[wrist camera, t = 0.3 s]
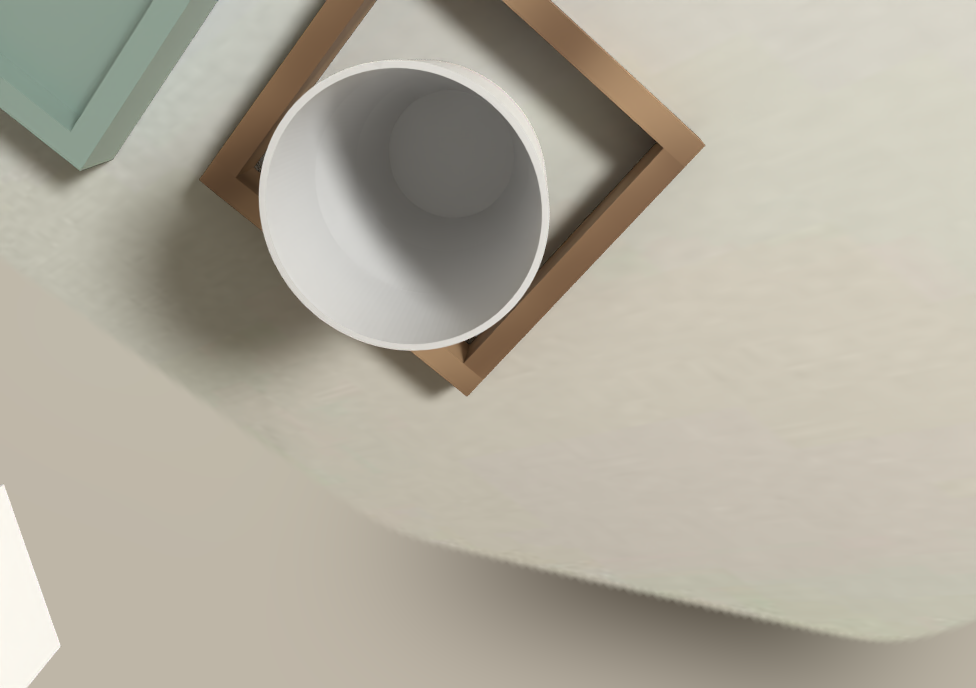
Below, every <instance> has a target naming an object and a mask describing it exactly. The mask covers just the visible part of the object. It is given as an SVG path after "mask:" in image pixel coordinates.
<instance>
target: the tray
mask: <svg viewBox="0 0 976 688" xmlns="http://www.w3.org/2000/svg"><path fill="white" fill-rule="evenodd" d="M217 1H218V0H0V108H1V109H2V110H3V111H5V112H6V113H7V114H8V115H10V116H11V117H12V118H14V119H15V120H16V121H17V122H19V123H20V124H21V125H22V126H24V127H25V128H26V129H28V130H29V131H30V132H31V133H33V134H34V135H35V136H36V137H38V138H39V139H40V140H41V141H43V142H44V143H45V144H47V145H48V146H49V147H50V148H52V149H53V150H54V151H55V152H57V153H58V154H59V155H60V156H62V157H63V158H64V159H66V160H67V161H68V162H69V163H71V164H72V165H73V166H74V167H76V168H77V169H78V170H79V171H81V170H84V169H87V168H90V167H93V166H95V165H98V164H101V163H104V162H107V161H110V160H112V159H114V157H115V156H116V154H117V153H118V151H119V149H120V148H121V146H122V145H123V143H124V142H125V140H126V139H127V137H128V136H129V134H130V133H131V131H132V130H133V128H134V127H135V125H136V124H137V122H138V121H139V119H140V118H141V116H142V115H143V113H144V112H145V110H146V109H147V107H148V106H149V104H150V103H151V101H152V100H153V98H154V96H155V95H156V93H157V92H158V90H159V89H160V87H161V86H162V84H163V83H164V81H165V80H166V78H167V77H168V75H169V74H170V72H171V71H172V69H173V68H174V66H175V65H176V63H177V62H178V60H179V59H180V57H181V56H182V54H183V53H184V51H185V50H186V48H187V47H188V45H189V43H190V42H191V40H192V39H193V37H194V36H195V34H196V33H197V31H198V30H199V28H200V27H201V25H202V24H203V22H204V21H205V19H206V18H207V16H208V15H209V13H210V12H211V10H212V9H213V7H214V6H215V4H216V3H217Z"/></svg>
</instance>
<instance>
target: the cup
mask: <svg viewBox="0 0 976 688" xmlns="http://www.w3.org/2000/svg"><path fill="white" fill-rule="evenodd" d="M259 211H260V219H261V225H262V229H263V233H264V237H265V241H266V244H267V247H268V249H269V252H270V254H271V257H272V259H273V261H274V263H275V265H276V267H277V269H278V271H279V273H280V274H281V276H282V278H283V279H284V281H285V282H286V284H287V285H288V286H289V288H290V289H291V290H292V292H293V293H294V294H295V295H296V296H297V298H298V299H299V300H300V301H301V302H302V303H303V304H304V305H305V306H306V307H307V308H308V309H309V310H310V311H311V312H312V313H314V314H315V315H316V316H317V317H318V318H320V319H321V320H322V321H324V322H325V323H327V324H328V325H330V326H331V327H333V328H334V329H336V330H338V331H340V332H341V333H343V334H345V335H347V336H349V337H352V338H354V339H356V340H359V341H362V342H364V343H367V344H371V345H374V346H378V347H383V348H388V349H395V350H410V351H415V350H430V349H436V348H442V347H446V346H450V345H453V344H457V343H460V342H462V341H465V340H467V339H470V338H472V337H474V336H476V335H478V334H480V333H481V332H483V331H485V330H486V329H488V328H490V327H491V326H492V325H494V324H495V323H496V322H498V321H499V320H500V319H501V318H503V317H504V316H505V315H506V314H507V313H508V312H509V311H510V310H511V309H512V308H513V307H514V306H515V305H516V304H517V302H518V301H519V300H520V299H521V298H522V296H523V295H524V293H525V292H526V291H527V289H528V287H529V286H530V284H531V282H532V281H533V279H534V277H535V275H536V273H537V271H538V268H539V266H540V263H541V261H542V258H543V254H544V251H545V247H546V243H547V237H548V230H549V214H550V210H549V196H548V187H547V178H546V169H545V163H544V158H543V154H542V150H541V147H540V144H539V141H538V138H537V136H536V134H535V132H534V129H533V128H532V126H531V124H530V122H529V120H528V119H527V117H526V116H525V114H524V113H523V111H522V110H521V109H520V107H519V106H518V105H517V104H516V102H515V101H514V100H513V99H512V98H511V97H510V96H509V95H508V94H507V93H506V92H505V91H504V90H502V89H501V88H500V87H499V86H498V85H496V84H495V83H494V82H492V81H491V80H489V79H488V78H486V77H484V76H483V75H481V74H479V73H477V72H475V71H473V70H471V69H468V68H466V67H463V66H460V65H457V64H453V63H449V62H445V61H438V60H426V59H417V60H381V61H374V62H368V63H364V64H359V65H356V66H353V67H350V68H347V69H344V70H342V71H339V72H337V73H335V74H333V75H331V76H329V77H327V78H326V79H324V80H322V81H321V82H319V83H318V84H316V85H315V86H314V87H312V88H311V89H310V90H308V91H307V92H306V93H305V94H304V95H303V96H302V97H301V98H300V99H298V101H297V102H296V103H295V104H294V105H293V106H292V107H291V108H290V109H289V111H288V112H287V113H286V115H285V116H284V117H283V119H282V120H281V122H280V123H279V125H278V127H277V129H276V130H275V132H274V134H273V136H272V138H271V141H270V143H269V145H268V148H267V151H266V154H265V157H264V161H263V165H262V170H261V175H260V183H259Z"/></svg>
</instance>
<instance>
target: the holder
mask: <svg viewBox="0 0 976 688" xmlns="http://www.w3.org/2000/svg"><path fill="white" fill-rule="evenodd" d="M376 1H377V0H326V2H325V3H324V5H323V6H322V7H321V9H320V10H319V12H318V13H317V14H316V16H315V17H314V19H313V20H312V22H311V23H310V24H309V26H308V27H307V29H306V30H305V31H304V33H303V34H302V36H301V37H300V38H299V40H298V41H297V43H296V44H295V45H294V47H293V48H292V50H291V51H290V52H289V54H288V55H287V57H286V58H285V60H284V61H283V62H282V64H281V65H280V67H279V68H278V69H277V71H276V72H275V74H274V75H273V76H272V78H271V79H270V81H269V82H268V83H267V85H266V86H265V88H264V89H263V90H262V92H261V93H260V95H259V96H258V98H257V99H256V100H255V102H254V103H253V105H252V106H251V107H250V109H249V110H248V112H247V113H246V114H245V116H244V117H243V119H242V120H241V121H240V123H239V124H238V126H237V127H236V128H235V130H234V131H233V133H232V134H231V136H230V137H229V138H228V140H227V141H226V143H225V144H224V145H223V147H222V148H221V150H220V151H219V152H218V154H217V155H216V157H215V158H214V159H213V161H212V162H211V164H210V165H209V166H208V168H207V169H206V171H205V172H204V174H203V175H202V176H201V178H200V179H199V180H200V181H201V182H202V183H203V184H205V185H206V186H207V187H208V188H210V189H211V190H212V191H213V192H214V193H216V194H217V195H218V196H219V197H221V198H222V199H223V200H224V201H226V202H227V203H228V204H229V205H231V206H232V207H233V208H234V209H236V210H237V211H238V212H239V213H240V214H242V215H243V216H244V217H245V218H247V219H248V220H249V221H250V222H252V223H253V224H254V225H255V226H257V227H258V228H259V229H260V230H261V231H263V229H262V225H261V219H260V211H259V183H260V175H261V173H260V172H259V171H257V170H256V169H255V168H254V167H255V166H256V164H257V163H258V161H259V160H260V159H261V157H262V156H263V155H264V153H265V152H266V151H267V148H268V145H269V143H270V141H271V138H272V136H273V134H274V132H275V130H276V129H277V127H278V125H279V123H280V122H281V120H282V119H283V117H284V116H285V115H286V113H287V112H288V111H289V109H290V108H291V107H292V106H293V105H294V104H295V103H296V102H297V101H298V99H300V98H301V97H302V96H303V95H304V94H305V93H306V92H307V91H308V90H310V89H311V88H312V87H313V86H314V85H315V84H316V82H317V81H318V80H319V78H320V77H321V76H322V74H323V73H324V71H325V70H326V69H327V67H328V66H329V65H330V63H331V62H332V61H333V59H334V58H335V56H336V55H337V54H338V52H339V51H340V50H341V48H342V47H343V46H344V44H345V43H346V41H347V40H348V39H349V37H350V36H351V35H352V33H353V32H354V31H355V29H356V28H357V26H358V25H359V24H360V22H361V21H362V20H363V18H364V17H365V16H366V14H367V13H368V11H369V10H370V9H371V7H372V6H373V5H374V3H375V2H376ZM502 1H503V2H504V3H505V4H506V5H508V6H509V7H510V8H511V9H512V10H513V11H514V12H515V13H516V14H517V15H519V16H520V17H521V18H522V19H523V20H524V21H525V22H526V23H527V24H528V25H529V26H531V27H532V28H533V29H534V30H535V31H536V32H537V33H538V34H539V35H540V36H542V37H543V38H544V39H545V40H546V41H547V42H548V43H549V44H550V45H551V46H552V47H554V48H555V49H556V50H557V51H558V52H559V53H560V54H561V55H562V56H563V57H565V58H566V59H567V60H568V61H569V62H570V63H571V64H572V65H573V66H574V67H575V68H577V69H578V70H579V71H580V72H581V73H582V74H583V75H584V76H585V77H586V78H588V79H589V80H590V81H591V82H592V83H593V84H594V85H595V86H596V87H597V88H598V89H600V90H601V91H602V92H603V93H604V94H605V95H606V96H607V97H608V98H609V99H611V100H612V101H613V102H614V103H615V104H616V105H617V106H618V107H619V108H620V109H621V110H623V111H624V112H625V113H626V114H627V115H628V116H629V117H630V118H631V119H632V120H634V121H635V122H636V123H637V124H638V125H639V126H640V127H641V128H642V129H643V130H644V131H646V132H647V133H648V134H649V135H650V136H651V137H652V138H653V139H654V140H655V141H657V142H656V143H655V145H654V146H653V147H652V148H651V149H650V150H649V151H648V152H647V153H646V154H645V155H644V156H643V158H642V159H641V160H640V161H639V162H638V163H637V164H636V165H635V166H634V167H633V168H632V169H631V171H630V172H629V173H628V174H627V175H626V176H625V177H624V178H623V179H622V180H621V181H620V182H619V184H618V185H617V186H616V187H615V188H614V189H613V190H612V191H611V192H610V193H609V194H608V195H607V197H606V198H605V199H604V200H603V201H602V202H601V203H600V204H599V205H598V206H597V207H596V208H595V210H594V211H593V212H592V213H591V214H590V215H589V216H588V217H587V218H586V219H585V220H584V221H583V223H582V224H581V225H580V226H579V227H578V228H577V229H576V230H575V231H574V232H573V233H572V234H571V236H570V237H569V238H568V239H567V240H566V241H565V242H564V243H563V244H562V245H561V246H560V247H559V249H558V250H557V251H556V252H555V253H554V254H553V255H552V256H551V257H550V258H549V259H548V260H547V262H546V263H545V264H544V265H543V266H542V267H541V268H540V269H539V270H538V271H537V273H536V275H535V277H534V279H533V281H532V282H531V284H530V286H529V287H528V289H527V291H526V292H525V293H524V295H523V296H522V298H521V299H520V300H519V301H518V302H517V304H516V305H515V306H514V307H513V308H512V309H511V310H510V311H509V312H508V313H507V314H506V315H505V316H504V317H503V318H501V319H500V320H499V321H498V322H496V323H495V324H494V325H492V326H491V327H490V328H488V329H486V330H485V331H483V332H481V333H480V334H479V335H478V336H477V337H476V338H475V340H474V341H473V342H472V343H471V344H470V345H469V344H468V343H467V342H465V341H462V342H460V343H457V344H453V345H450V346H446V347H442V348H436V349H430V350H415V351H411V352H412V353H414V354H415V355H416V356H417V357H419V358H420V359H421V360H422V361H424V362H425V363H426V364H427V365H428V366H430V367H431V368H432V369H433V370H435V371H436V372H437V373H438V374H440V375H441V376H442V377H443V378H445V379H446V380H447V381H448V382H449V383H451V384H452V385H453V386H454V387H456V388H457V389H458V390H459V391H461V392H462V393H463V394H464V395H466V396H468V395H469V394H470V393H471V392H472V391H473V390H474V389H475V388H476V387H477V386H478V384H479V383H480V382H481V381H482V380H483V379H484V378H485V377H486V376H487V375H488V374H489V373H490V372H491V371H492V370H493V369H494V368H495V367H496V366H497V364H498V363H499V362H500V361H501V360H502V359H503V358H504V357H505V356H506V355H507V354H508V353H509V352H510V351H511V350H512V349H513V348H514V347H515V345H516V344H517V343H518V342H519V341H520V340H521V339H522V338H523V337H524V336H525V335H526V334H527V333H528V332H529V331H530V330H531V329H532V328H533V326H534V325H535V324H536V323H537V322H538V321H539V320H540V319H541V318H542V317H543V316H544V315H545V314H546V313H547V312H548V311H549V310H550V309H551V308H552V306H553V305H554V304H555V303H556V302H557V301H558V300H559V299H560V298H561V297H562V296H563V295H564V294H565V293H566V292H567V291H568V290H569V289H570V287H571V286H572V285H573V284H574V283H575V282H576V281H577V280H578V279H579V278H580V277H581V276H582V275H583V274H584V273H585V272H586V271H587V270H588V269H589V267H590V266H591V265H592V264H593V263H594V262H595V261H596V260H597V259H598V258H599V257H600V256H601V255H602V254H603V253H604V252H605V251H606V250H607V248H608V247H609V246H610V245H611V244H612V243H613V242H614V241H615V240H616V239H617V238H618V237H619V236H620V235H621V234H622V233H623V232H624V231H625V230H626V228H627V227H628V226H629V225H630V224H631V223H632V222H633V221H634V220H635V219H636V218H637V217H638V216H639V215H640V214H641V213H642V212H643V211H644V209H645V208H646V207H647V206H648V205H649V204H650V203H651V202H652V201H653V200H654V199H655V198H656V197H657V196H658V195H659V194H660V193H661V192H662V191H663V189H664V188H665V187H666V186H667V185H668V184H669V183H670V182H671V181H672V180H673V179H674V178H675V177H676V176H677V175H678V174H679V173H680V172H681V170H682V169H683V168H684V167H685V166H686V165H687V164H688V163H689V162H690V161H691V160H692V159H693V158H694V157H695V156H696V155H697V154H698V153H699V151H700V150H701V149H702V148H703V147H704V146H705V144H704V143H703V142H702V141H701V139H700V138H699V137H698V136H697V135H696V134H695V133H694V132H693V131H691V130H690V129H689V128H688V127H687V126H686V125H685V124H684V123H683V122H682V121H681V120H680V119H679V118H677V117H676V116H675V115H674V114H673V113H672V112H671V111H670V110H669V109H668V108H667V107H666V106H664V105H663V104H662V103H661V102H660V101H659V100H658V99H657V98H656V97H655V96H654V95H653V94H651V93H650V92H649V91H648V90H647V89H646V88H645V87H644V86H643V85H642V84H641V83H640V82H638V81H637V80H636V79H635V78H634V77H633V76H632V75H631V74H630V73H629V72H628V71H627V70H625V69H624V68H623V67H622V66H621V65H620V64H619V63H618V62H617V61H616V60H615V59H614V58H613V57H611V56H610V55H609V54H608V53H607V52H606V51H605V50H604V49H603V48H602V47H601V46H600V45H598V44H597V43H596V42H595V41H594V40H593V39H592V38H591V37H590V36H589V35H588V34H587V33H585V32H584V31H583V30H582V29H581V28H580V27H579V26H578V25H577V24H576V23H575V22H574V21H572V20H571V19H570V18H569V17H568V16H567V15H566V14H565V13H564V12H563V11H562V10H561V9H559V8H558V7H557V6H556V5H555V4H554V3H553V2H552V1H551V0H502Z"/></svg>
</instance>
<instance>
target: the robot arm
mask: <svg viewBox="0 0 976 688" xmlns="http://www.w3.org/2000/svg"><path fill="white" fill-rule="evenodd" d="M59 647H60V643H59V640H58V637H57V634H56V631H55V629H54V626H53V623H52V620H51V617H50V614H49V611H48V609H47V606H46V603H45V600H44V597H43V594H42V591H41V589H40V586H39V583H38V580H37V577H36V574H35V572H34V569H33V566H32V563H31V560H30V558H29V555H28V552H27V549H26V546H25V543H24V540H23V538H22V535H21V532H20V529H19V526H18V523H17V521H16V518H15V515H14V512H13V509H12V506H11V503H10V501H9V498H8V495H7V492H6V489H5V486H4V484H0V688H27V687H28V686H29V685H30V683H31V682H32V681H33V679H34V678H35V677H36V676H37V675H38V673H39V672H40V671H41V670H42V668H43V667H44V666H45V665H46V663H47V662H48V661H49V660H50V658H51V657H52V656H53V655H54V654H55V652H56V651H57V650H58V649H59Z"/></svg>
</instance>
